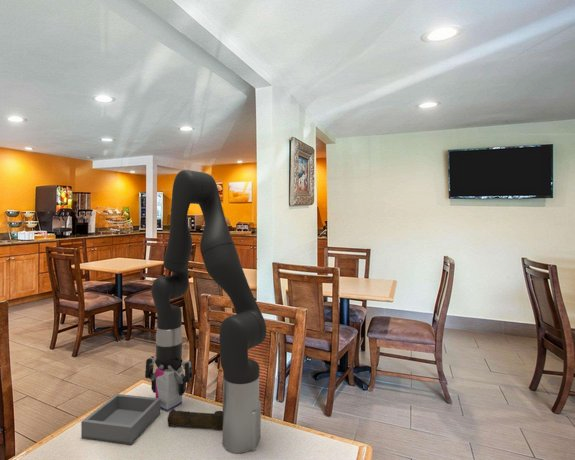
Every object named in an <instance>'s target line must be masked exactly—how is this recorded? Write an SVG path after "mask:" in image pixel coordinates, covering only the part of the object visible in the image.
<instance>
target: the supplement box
mask: <svg viewBox="0 0 575 460" xmlns="http://www.w3.org/2000/svg"><path fill="white" fill-rule="evenodd" d="M157 369H158V367H157V368H156V369H155V371H156V370H157ZM181 370H183V371H184V369H183V366H181V367H180V368H179V369H178V370H177V373H178V374H179V373H180V372H181ZM179 384H180V383H179V381H178V380H177V379H176V378H175V377H174V371H170V370H169V369H162V370H157V375H156V393H155V398H160V410H164V411H165V412H170V411H171V410H172V409H175V408H177V407H179V406H180V405H182V404H183V395H182V396H180V395H179Z"/></svg>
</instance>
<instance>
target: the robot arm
mask: <svg viewBox="0 0 575 460" xmlns="http://www.w3.org/2000/svg"><path fill="white" fill-rule="evenodd" d="M171 190H172V192H171V205H170V219H169V220H170V225H169V235H168V240H167V245H166V250H165V254H164V258H163V267H164V268H165V270H167V271H169V272H172V273H171V275H167V276H166V275H165V276H160V277H156V279H154V281H153V282H152V285H151V288H150V289H151V296H152V299H153V303H154V308H155V311H156V314H157V315H156V316H157V317H156V319H157V320H156V321H157V322H156V323H157V324H156V325H157V326H156V334H155V356H153V355H151V356H150V357H148V358H146V361H145V372H144V374H145V375H144V377H145V378H146V379H149V380H150V381H151V391H152V392H153V394H156V375H157V370H162V369H169V370H170V371H174V377H175V378H176V379H177V380H178V381H179V383H180V384H179V395H180V396H182V397H183V395H184V394H185V392H186V391H187V383H189V382H190V381H191V380H192V379H193V361H192V360H191V359H188V360H187V361H186V360H183V358H182V357H183V330H182V329H183V327H182V325H183V324H182V323H183V321H182V319H183V318H182V315H183V314H182V312H183V311H182V309H181V307H180V306H178V305H172V304H171V300H173V299H178V298H181V297H183V296H184V295H185V294H186V292H187V291H188V288H189V270H188V269H189V268H188V267H189V265H188V264H189V261H190V257H191V254H192V248H193V238H192V234H191V230H190V227H189V224H188V212H189V210H190V209H189V208H190V206H191V204H192V205H193V204H195V205H198V206H199V208H200V210H201V213H202V217H203V220H204V221H203V223H204V224H203V225H204V226H203V230H202V234H201V238H200V246H199V247H200V248H199V250H200V254H201V258H202V260H203V263H204V266H205V269H206V272H207V273H208V275H209V277H210V278H211V279H212V280H213V281H214V282H215V283H216V284H217V285H218V286H219V287H220V288H221V289H222V290H223V291H224V292H225V293H226V294H227V296H228V298H229V299H230V301H231V303H232V305H233V308H234V310H235V314H233V315H230V316H227V317H226V318H225V319H223V321H222V322H221V325H220V329H219V354H220V355H219V358H220V366H221V369H222V373H223V374H222V378H223V380H222V383H223V384H222V411H223V430H222V433H221V434H222V435H221V438H222V442H221V443H222V446H223V448H224V449H225V450H226V451H228V452H231V453H235V454H239V453H242V454H243V453H247V452H249V451H252V452H254V451H256V449H257V447H258V445H259V444H258V443H259V441H260V439H261V424H262V423H261V422H262V419H261V418H262V401H261V400H260V373H261V371H260V365H259V363H258V361H256V360H254V359H252V358H249V350H250V349H252V348H255V347H256V346H259V345H261V344H262V343H263V342H265V340H266V337H267V325H266V322H265V318H264V316H263V313H262V312H261V309H260V307H259V305H258V303H257V300H256V298H255V297H254V294H253V292H252V290H251V288H250V285H249V283H248V279H247V277H246V275H245V271H244V269H243V267H242V264H241V260H240V257H239V254H238V252H237V248H236V245H235V243H234V240H233V238H232V235H231V232H230V229H229V225H228V223H227V219H226V216H225V213H224V210H223V205H222V200H221V196H220V193H219V192H220V191H219V189H218V184H217V181H216V180H215V178H214V177H213V176H212V175H211V174H209V173H206V172H202V171H195V170H190V169H182V170H180V171H179V172H177V174H176V176H174V180H173V184H172V189H171ZM155 357H156V358H155ZM154 365H155V366H156V367H157V368H158V369H157V368H156V369H157V370H156V369H155V371H154ZM180 367H183V370H181V372H180V373H179V374H178V373H177V370H178V369H179V368H180Z"/></svg>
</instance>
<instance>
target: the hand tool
mask: <svg viewBox="0 0 575 460" xmlns="http://www.w3.org/2000/svg"><path fill="white" fill-rule="evenodd" d="M168 412H169V413H168V415H167V426H168V427H170V426H173V427H176V426H186V427H187V426H188V427H198V428H199V427H200V428H213V430H214V431H219V432H220V431H222V432H223V410H216V411H214V413H211V412H210V413H209V412H199V411H198V412H195V411H185V410H176V409H175V408H173V409H171V410H170V411H168Z"/></svg>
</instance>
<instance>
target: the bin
mask: <svg viewBox="0 0 575 460" xmlns="http://www.w3.org/2000/svg"><path fill="white" fill-rule="evenodd" d="M160 415H161V408H160V398H156V397H152V396H151V397H150V396H149V397H148V396H140V395H130V394H124V393H115V394H114V395H113V396H112V397H111V398H109V399H107V401H106V402H105V403H103V404H102V405H101V406H99V407H98V408H97V409H95V410H94V411H93V412H92V413H90V414H89V415H88V416H86V417H85V418H84V419H82V420H81V422H80V423H81V424H80V425H81V426H80V427H81V429H80V430H81V431H80V433H81V434H80V435H81V438H80V439H82V440H83V439H84V440H90V441H91V440H92V441H97V442H105V443H106V442H107V443H110V444H111V443H112V444H113V443H114V444H119V445H128V446H132V445H133V444H134V443H135V442H136V441H137V439H139V438H140V436H141V435H142V434H143V433H144V432H145V431H146V430H147V429H148V428H149V427H150V426H151V424H152V423H153V422H154V421H155V420H156V419H157V418H158V416H160Z"/></svg>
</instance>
